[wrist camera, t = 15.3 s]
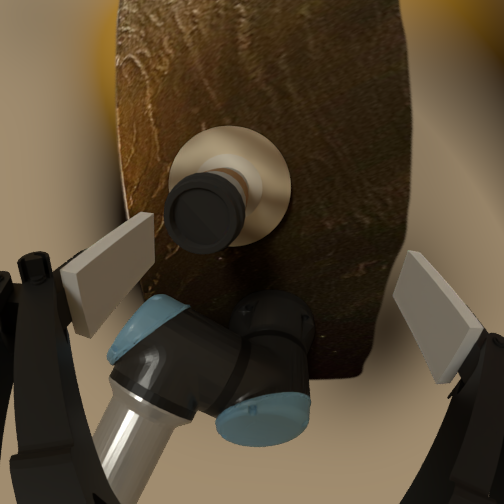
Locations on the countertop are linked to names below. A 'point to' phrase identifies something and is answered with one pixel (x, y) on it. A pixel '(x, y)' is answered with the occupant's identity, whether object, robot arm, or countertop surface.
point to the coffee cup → (207, 210)
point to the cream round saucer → (250, 165)
